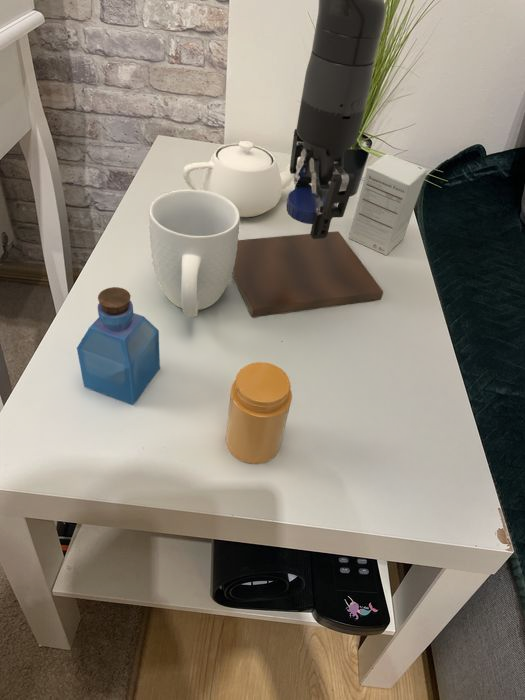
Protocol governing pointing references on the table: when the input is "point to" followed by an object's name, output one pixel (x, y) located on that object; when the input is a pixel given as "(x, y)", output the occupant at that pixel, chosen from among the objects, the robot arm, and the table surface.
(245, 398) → the jar
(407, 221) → the white packaging box
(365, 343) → the table surface
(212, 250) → the mug
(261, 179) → the teapot
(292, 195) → the jar lid
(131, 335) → the perfume bottle
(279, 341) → the table surface
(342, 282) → the board
